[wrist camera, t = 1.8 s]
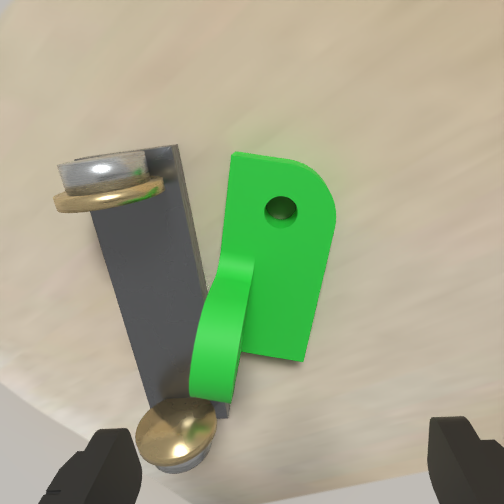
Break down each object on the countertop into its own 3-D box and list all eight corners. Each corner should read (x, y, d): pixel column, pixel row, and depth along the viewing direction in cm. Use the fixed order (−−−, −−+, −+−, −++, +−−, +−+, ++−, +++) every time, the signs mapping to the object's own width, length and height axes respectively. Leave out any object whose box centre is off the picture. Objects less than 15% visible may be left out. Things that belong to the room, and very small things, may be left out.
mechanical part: (301, 343, 24) (308, 444, 17) (216, 328, 24) (185, 422, 17) (342, 166, 20) (375, 199, 12) (236, 151, 20) (207, 173, 13)
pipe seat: (177, 144, 20) (135, 156, 14) (230, 405, 27) (215, 482, 21) (85, 157, 21) (11, 173, 15) (159, 407, 27) (127, 483, 22)
